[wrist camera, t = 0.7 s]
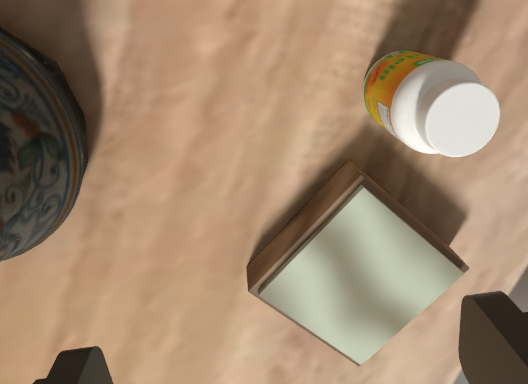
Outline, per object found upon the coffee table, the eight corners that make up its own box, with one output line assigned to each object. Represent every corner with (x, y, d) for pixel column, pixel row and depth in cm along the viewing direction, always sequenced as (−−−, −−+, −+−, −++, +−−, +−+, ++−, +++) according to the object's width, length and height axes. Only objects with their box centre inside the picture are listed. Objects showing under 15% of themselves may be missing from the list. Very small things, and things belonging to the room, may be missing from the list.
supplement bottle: (419, 34, 31) (498, 46, 22) (444, 103, 33) (526, 140, 24) (348, 73, 31) (396, 100, 23) (377, 138, 33) (432, 186, 25)
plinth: (349, 159, 34) (363, 177, 30) (449, 246, 38) (473, 272, 34) (246, 267, 37) (248, 296, 33) (348, 338, 40) (361, 371, 37)
